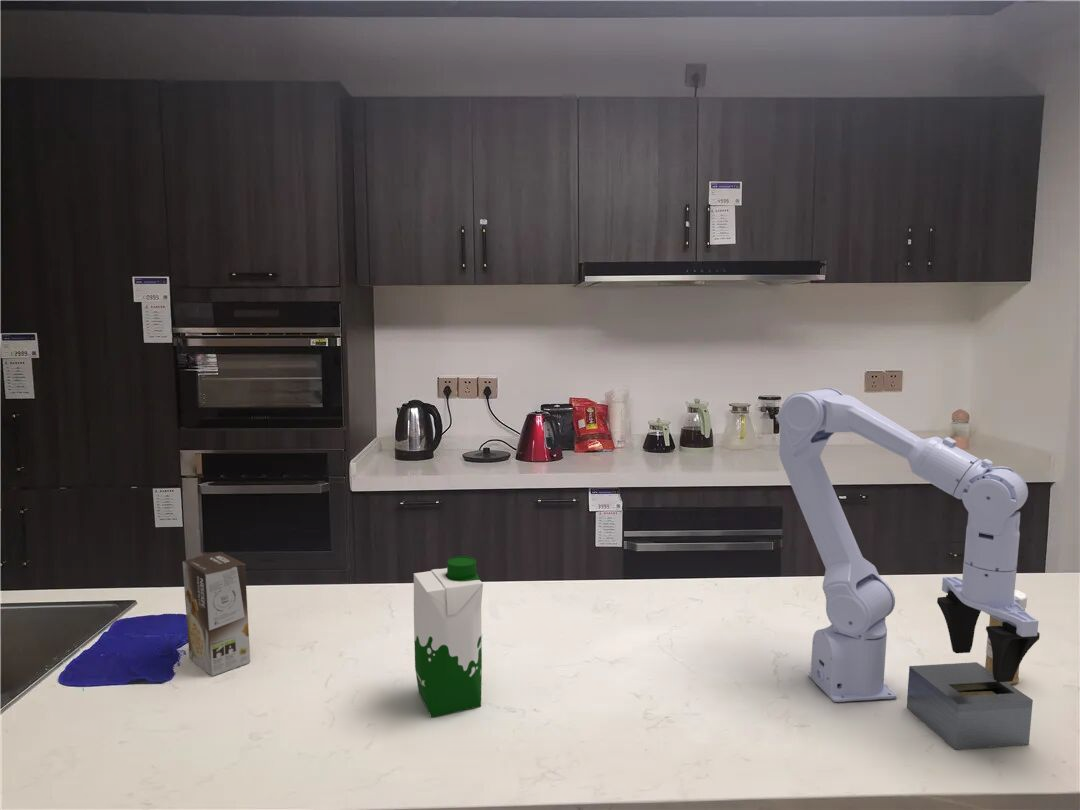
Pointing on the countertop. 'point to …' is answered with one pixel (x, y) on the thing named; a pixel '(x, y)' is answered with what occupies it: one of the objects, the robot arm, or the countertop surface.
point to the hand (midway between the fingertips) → (981, 665)
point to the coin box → (969, 706)
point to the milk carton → (448, 636)
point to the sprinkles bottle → (996, 622)
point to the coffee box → (216, 612)
